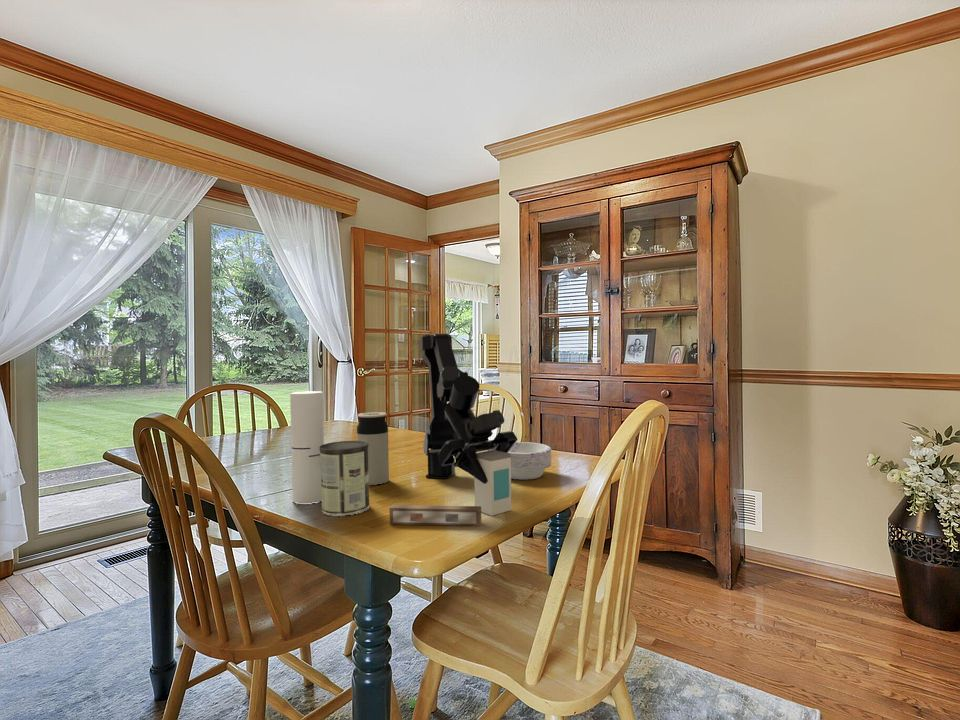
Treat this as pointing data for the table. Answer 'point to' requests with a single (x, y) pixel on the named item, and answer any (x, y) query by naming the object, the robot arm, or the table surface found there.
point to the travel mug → (375, 445)
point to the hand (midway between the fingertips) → (496, 480)
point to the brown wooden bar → (435, 515)
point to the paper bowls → (529, 460)
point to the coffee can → (344, 477)
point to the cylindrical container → (306, 445)
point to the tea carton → (494, 482)
